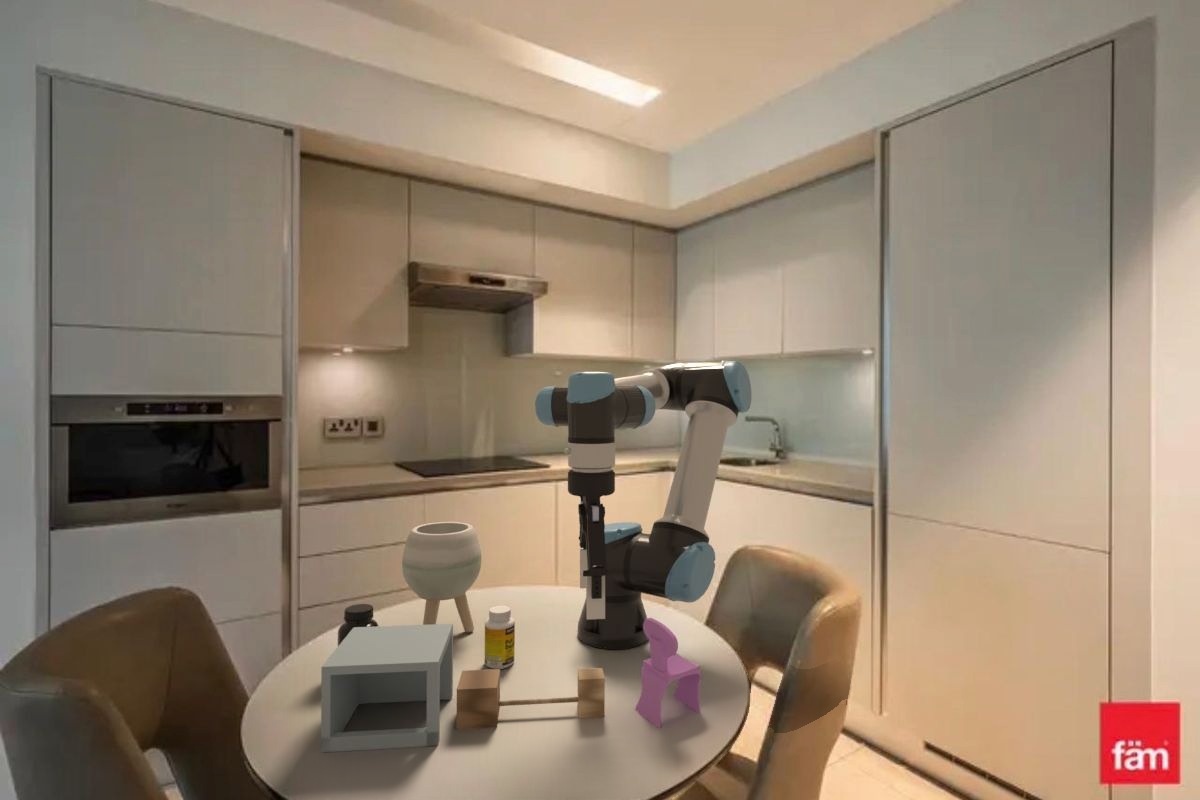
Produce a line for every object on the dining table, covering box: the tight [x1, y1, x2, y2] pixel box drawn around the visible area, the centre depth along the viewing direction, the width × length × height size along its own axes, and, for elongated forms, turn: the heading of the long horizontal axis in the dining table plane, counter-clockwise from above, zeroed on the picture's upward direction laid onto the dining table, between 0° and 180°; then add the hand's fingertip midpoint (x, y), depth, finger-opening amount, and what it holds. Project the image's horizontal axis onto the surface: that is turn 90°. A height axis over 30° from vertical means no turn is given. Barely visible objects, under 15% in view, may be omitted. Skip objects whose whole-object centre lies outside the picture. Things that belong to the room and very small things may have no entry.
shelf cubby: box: [320, 623, 454, 753], centre depth 88 cm, size 16×14×12 cm
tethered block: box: [456, 667, 606, 730], centre depth 90 cm, size 22×6×6 cm, turn 96°
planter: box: [401, 521, 482, 633], centre depth 121 cm, size 16×16×22 cm
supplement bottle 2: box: [484, 605, 516, 670], centre depth 108 cm, size 6×6×10 cm
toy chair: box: [634, 617, 702, 729], centre depth 92 cm, size 8×9×15 cm
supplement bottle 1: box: [336, 603, 379, 648], centre depth 103 cm, size 7×7×12 cm
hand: (591, 601), depth 91 cm, fingers open, 13 cm apart
